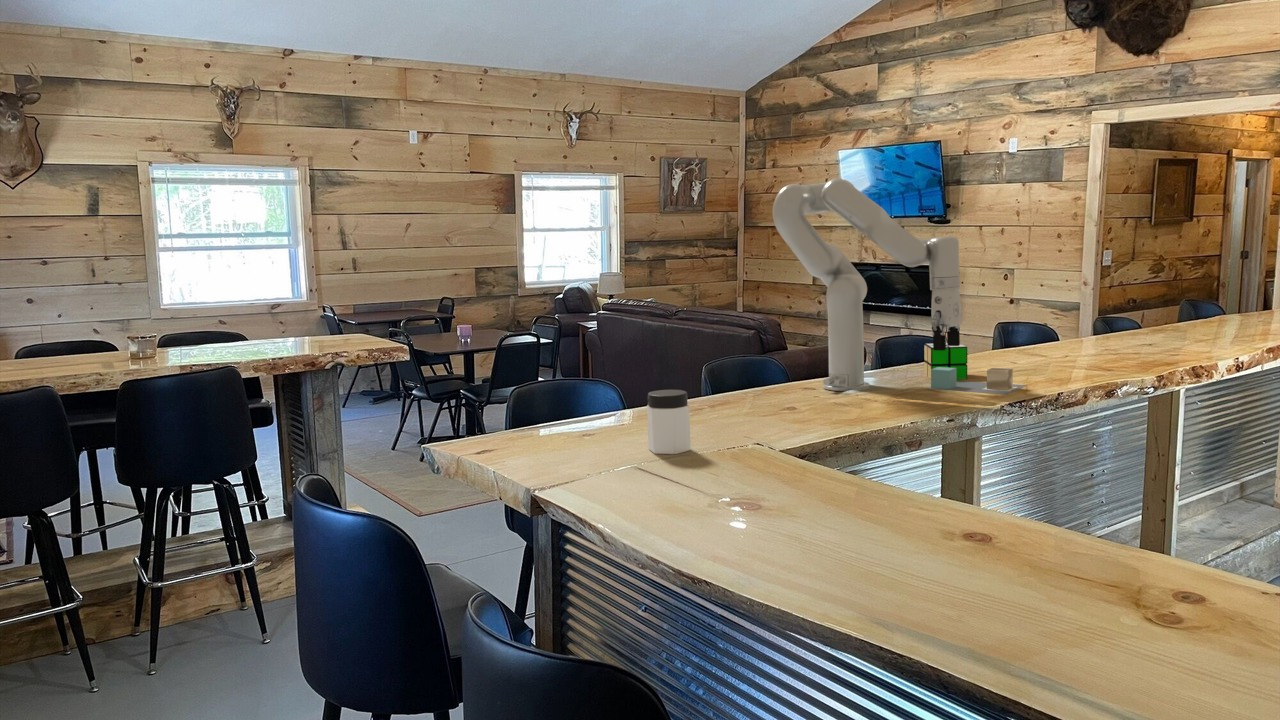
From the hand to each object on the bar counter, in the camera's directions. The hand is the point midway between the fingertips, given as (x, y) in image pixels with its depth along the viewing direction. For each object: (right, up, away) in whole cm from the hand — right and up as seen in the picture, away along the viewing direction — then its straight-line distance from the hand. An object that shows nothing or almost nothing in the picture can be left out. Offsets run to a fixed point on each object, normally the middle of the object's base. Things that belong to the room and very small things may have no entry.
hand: (946, 348), depth 247 cm
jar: (-76, -22, -56) cm, 97 cm away
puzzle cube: (+6, -9, +20) cm, 23 cm away
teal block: (0, -11, +2) cm, 11 cm away
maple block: (+13, -11, -4) cm, 17 cm away
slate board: (+8, -11, 0) cm, 14 cm away
